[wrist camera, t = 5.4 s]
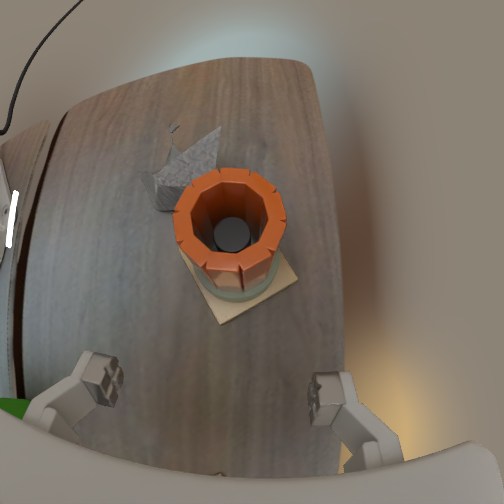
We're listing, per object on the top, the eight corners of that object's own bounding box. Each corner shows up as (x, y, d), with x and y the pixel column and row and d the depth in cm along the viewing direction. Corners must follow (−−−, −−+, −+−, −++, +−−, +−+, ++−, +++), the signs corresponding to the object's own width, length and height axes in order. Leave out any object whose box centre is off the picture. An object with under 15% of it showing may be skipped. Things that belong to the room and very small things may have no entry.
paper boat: (121, 226, 27) (111, 144, 27) (164, 223, 33) (153, 151, 33) (213, 187, 21) (194, 87, 21) (253, 192, 27) (234, 108, 27)
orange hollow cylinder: (184, 242, 23) (155, 200, 16) (249, 206, 24) (250, 151, 17) (219, 307, 22) (204, 294, 14) (288, 267, 23) (308, 234, 15)
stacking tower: (181, 252, 28) (151, 214, 19) (252, 213, 29) (254, 160, 20) (221, 325, 26) (206, 322, 17) (296, 281, 27) (319, 256, 18)
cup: (71, 430, 22) (9, 456, 12) (43, 463, 20) (-11, 489, 10) (25, 369, 24) (-41, 371, 13) (2, 408, 22) (-56, 417, 11)
